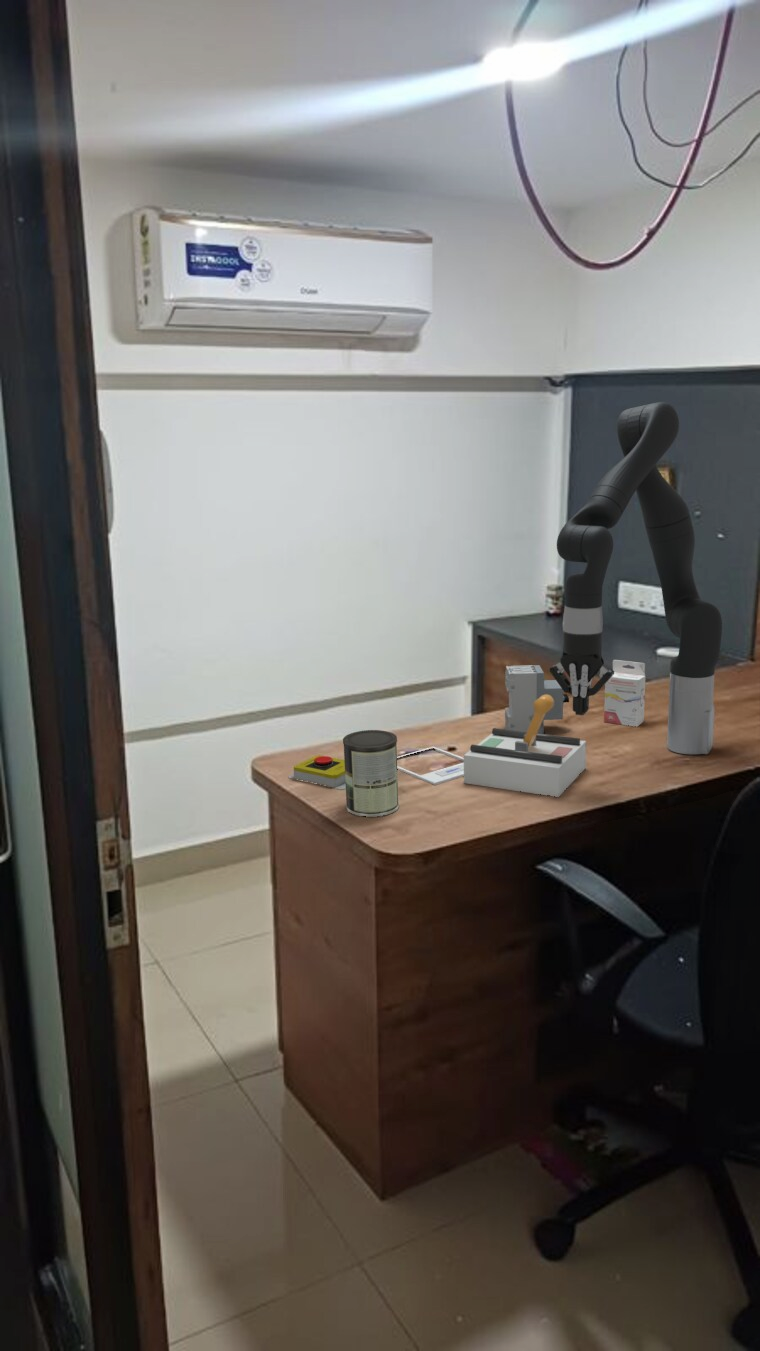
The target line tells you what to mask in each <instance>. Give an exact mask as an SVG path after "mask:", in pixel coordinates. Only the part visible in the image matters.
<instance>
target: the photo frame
mask: <svg viewBox="0 0 760 1351" xmlns="http://www.w3.org/2000/svg"><path fill="white" fill-rule="evenodd" d="M432 748H434V749H432ZM429 749H430V750H435V752H437V753H440V754H442V753H443V755H444V756H447V757H448V756H449V758H450V757H451V758H453V759H455V760H459V761H461V763H457V764H454V765H450V766H448V767H444V768H441V769H437V770H434V771H430V772H427V773H423V774H419V773H416V772H414V771H411V770H408V769H405V768H403V767H401V766H398V765H397V769H398V770H397V771H399V770H400V771H399V772H402V771H403V772H402V773H404V772H405V773H404V774H406V773H407V775H409V774H410V775H409V776H411V775H412V777H414V778H416V779H419V780H420V781H424V782H425V783H428V784H431V785H433V786H437V785H440V784H443V783H447V782H449V781H453V780H456V779H460V778H462V777H463V778H464V756H463V757H462V756H460V755H457V754H455V753H452V752H449V751H446V750H444V749H441V748H438V747H435V746H430V747H427V748H424V749H419V750H417V751H413V752H409V753H406V754H402V755H399V756H398V755H397V758H398V759H401V758H400V757H402V758H404V757H403V756H406V755H409V756H411V755H410V754H413V755H415V754H414V753H416V754H418V753H417V752H420V753H422V752H421V751H423V752H426V751H425V750H427V751H430V750H429ZM406 757H407V756H406Z"/></svg>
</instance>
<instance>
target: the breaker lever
mask: <svg viewBox="0 0 760 1351" xmlns="http://www.w3.org/2000/svg"><path fill="white" fill-rule="evenodd" d="M553 706H554V699H553V698H552V697H551V696H550V695H547V694H545V695H542V696H541V697H540V698H538V699H537V700H536V701H535V702H534V705H533V707H534V710H535V711H536V712H535V714H534V717H533V719H532V721H531V724H530V726H529V729H528V731H527V733H526V736H525V738H524V741H523V742H528V747H529V746H530V745H532V744H533V742H534V740H535V737H536V735H537V732H538V730H539V728H540V725H541V723H542V721H543V718H544V716H545V713H547V712H548V711H549V710H550V709H552V708H553Z"/></svg>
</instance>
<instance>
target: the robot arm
mask: <svg viewBox="0 0 760 1351" xmlns="http://www.w3.org/2000/svg"><path fill="white" fill-rule="evenodd" d="M679 429H680V419H679V415H678V413H677V410H676V408H674V406H673V405H671V404H670V403H668V402H663V401H659V402H652V403H649V404H644V405H639V406H634V407H630V408H627V409H625V410H623V411H622V412H620V414H619V416H618V419H617V422H616V430H617V431H616V433H617V437H618V441H619V445H620V449H621V451H622V454H623V456H624V457H623V458H622V459H621V460H620V461H619V462H617V463H616V464H615V465H614V466H613V467H611V469H610V470H609V471H607V473H605V475H604V476H603V477H602V478H601V479H600V480H599V482H598V483H597V485H596V486H595V487H594V490H593V492H592V493H591V495H590V497H589V498H588V501H587V502H586V504H585V505H583V507H582V508H580V509H579V510H578V511H577V512H576V513H575V514H574V515H573V516H572V517H571V518H570V519H569V520H568V521H567V522H566V523H565V524H564V526H563V527H562V528H561V529H560V532H559V534H558V536H557V540H556V552H557V553H558V555H559V557H560V558H561V559H563V560H564V561H567V562H573V563H584V564H585V563H586V567H585V570H584V572H583V573H575V574H572V575H570V576H568V577H567V578H566V580H565V587H564V592H565V593H564V610H563V611H564V612H563V617H562V618H563V619H562V654H561V657H560V659H559V662H557V663H556V664H554V665H552V666H550V668H549V673H550V674H551V675H552V676H553V678H554V680H556V681H557V682H558V684H559V685H560V687H561V688H562V689H563V693H564V694H567V693H568V694H570V695H572V696H571V697H572V711H573V713H574V714H575V715H577V716H582V717H583V716H584V715H586V713H588V711H589V709H590V708H589V707H590V697H591V696H595V695H597V693H599V692H600V690H601V689H602V688H603V687H605V684H606V682H607V681H608V680H609V679H610V678H611V677H612V676H613V675H614V671H613V669H609V668H608V667H607V666H605V664H604V663H605V661H604V658H603V656H602V654H603V653H602V651H603V649H602V648H603V622H604V621H603V620H604V618H603V605H602V604H603V585H604V581H605V577H606V574H607V569H608V566H609V563H610V560H611V557H612V554H613V550H614V540H613V536H612V533H611V532H610V530H609V529H612V528H614V527H616V525H617V523H619V521H620V519H621V518H622V515H623V513H624V512H625V510H626V508H627V506H628V504H629V503H630V501H631V499H632V497H633V496H634V494H635V493H636V495H637V497H638V503H639V507H640V510H641V514H642V518H643V523H644V527H645V531H646V535H647V539H648V543H649V546H650V549H651V553H652V557H653V561H654V564H655V568H656V571H657V575H658V579H659V582H660V588H661V589H660V590H661V595H662V600H663V601H662V603H663V608H664V615H665V616H664V617H665V621H666V625H667V627H668V629H669V631H670V632H671V633H672V634H673V636H675V637H677V638H679V647H678V648H679V649H678V654H677V656H675V657H673V658H672V659H671V660H670V663H669V664H670V665H669V689H668V694H669V695H668V709H667V710H668V713H667V715H668V716H667V733H666V734H667V736H666V740H667V741H666V748H667V749H668V750H669V751H670V752H673V753H677V754H680V755H681V754H682V755H683V754H684V755H709V753H710V751H711V750H712V748H713V747H714V746H713V744H714V731H715V730H714V726H715V709H716V708H715V705H714V690H715V689H714V688H715V674H716V672H715V671H716V666H717V664H718V662H719V661H720V660H719V659H720V654H721V645H722V634H723V617H722V614H721V612H720V609H718V607H716V606H715V605H714V604H713V603H710V602H707V601H705V600H703V599H701V597H700V595H699V593H698V589H697V586H696V583H695V579H694V575H693V562H694V561H693V558H694V553H695V545H696V543H695V542H696V541H695V530H694V526H693V522H692V517H691V513H690V510H689V507H688V505H687V503H686V502H685V500H684V499H683V497H682V496H681V495H680V494H679V493H678V491H677V490H676V489H674V488H673V486H672V485H671V484H670V483H669V482H668V481H667V479H665V478H664V476H663V475H662V473H661V472H660V471H659V470H660V469H658V466H657V464H658V462H659V461H660V460H661V458H662V457H663V456H664V455H665V454H666V452H668V450H669V449H670V448H671V446H672V445H673V444H674V442H676V441H675V440H676V438H677V436H678V434H679ZM564 671H565V672H566V674H565V673H564ZM599 671H600V672H599ZM598 673H599V680H598V681H597V682H596V683H595V684H594V685H593V686H592V687H591V684H592V681H593V679H594V677H595V676H597V674H598ZM566 675H568V677H569V678H570V680H569V679H568V677H567V676H566Z"/></svg>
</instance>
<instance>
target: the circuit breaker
mask: <svg viewBox="0 0 760 1351" xmlns="http://www.w3.org/2000/svg"><path fill="white" fill-rule="evenodd" d="M504 680H505V681H504V684H505V689H506V692H507V693H508V706H507V707H505V708H504V715H505V716H504V720H505V723H504V724H505V725H504V727H505V729H506V730H514V731H522V732H527V731H528V729H529V726H530V724H531V721H532V719H533V717H534V714H535V712H536V711H535V710H534V707H533V705H534V702H535V701H536V700H537V699H538V698H540V697H541V696H542V695H545V694H547V695H550V696H551V697H552V698H553V699H554V706H553V708H552V709H550V710H549V711H548V712H547V713H545V716H544V718H543V721H542V723H541V725H540V728H539V730H538V732H537V733H539V734H544V732H545V730H544V729H545V728H544V725H545V723H544V721H551V720H554V721H556V720H563V719H564V704H565V703H570V698H569V695H568V694H567V693H564V691H563V689H562V688H561V687H560V685H559V684H558V682H557V681H556V679H545V673H544V671H543V669H542V667H541V665H539V664H538V665H537V664H535V665H534V664H533V665H532V664H531V665H529V664H528V665H506V667H505V673H504Z"/></svg>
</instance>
